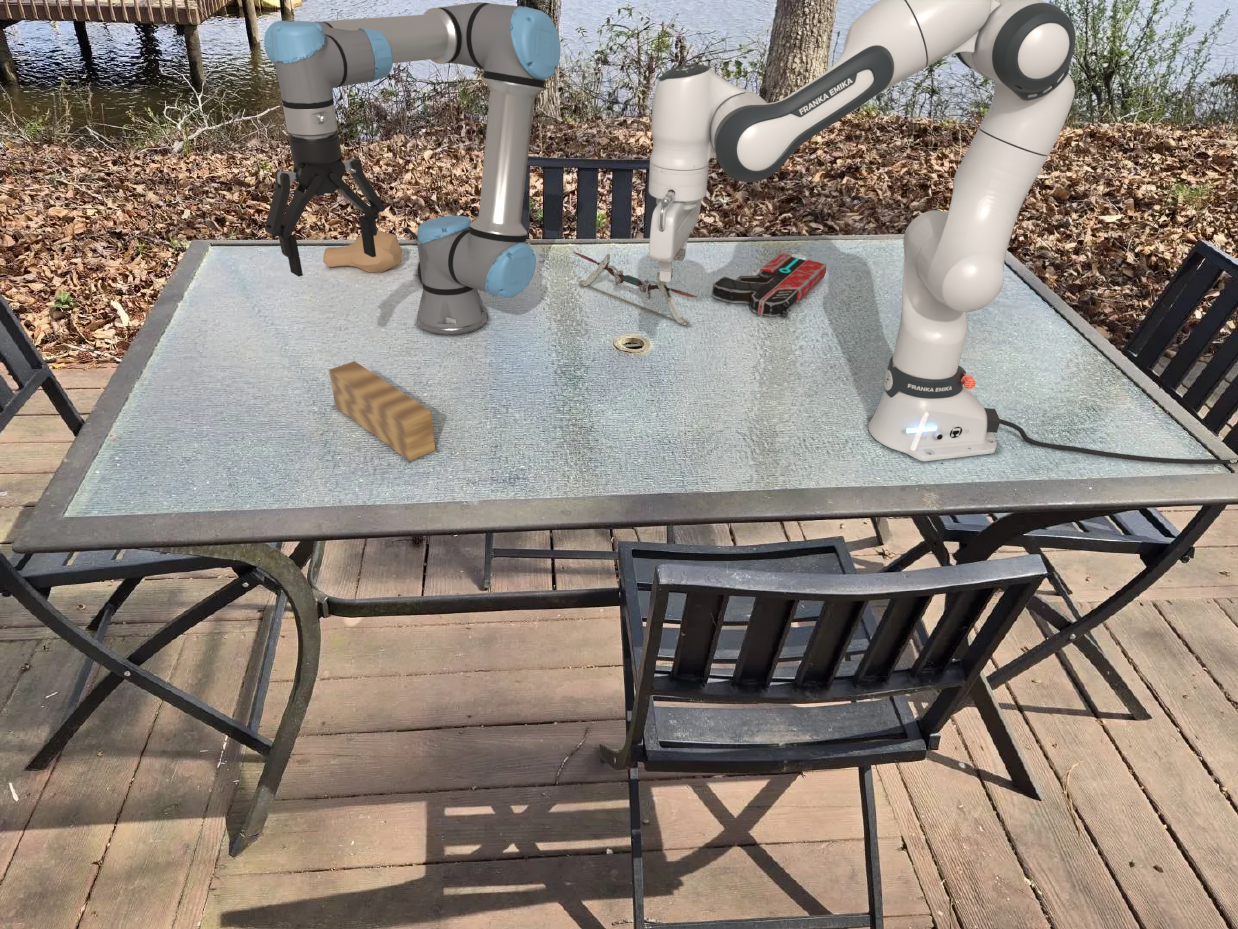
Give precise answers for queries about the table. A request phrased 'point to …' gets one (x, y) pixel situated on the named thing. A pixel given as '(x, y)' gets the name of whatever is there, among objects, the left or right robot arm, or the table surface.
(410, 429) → the bar
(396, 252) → the squash
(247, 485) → the table surface
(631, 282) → the bow
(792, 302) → the gun
